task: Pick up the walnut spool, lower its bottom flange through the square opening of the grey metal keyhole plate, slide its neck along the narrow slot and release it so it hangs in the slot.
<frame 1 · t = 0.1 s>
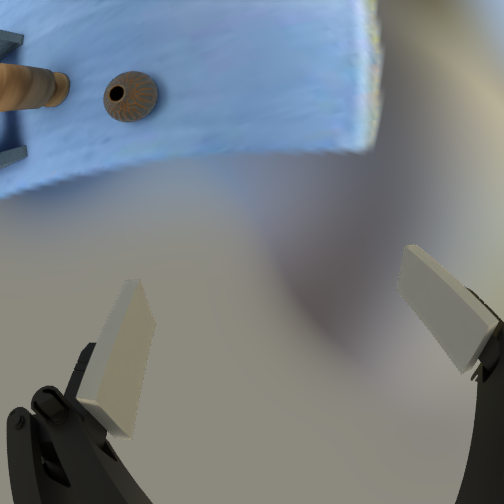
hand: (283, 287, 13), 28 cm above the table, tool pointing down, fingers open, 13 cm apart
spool: (56, 89, 27), on the table
vase: (139, 98, 31), on the table
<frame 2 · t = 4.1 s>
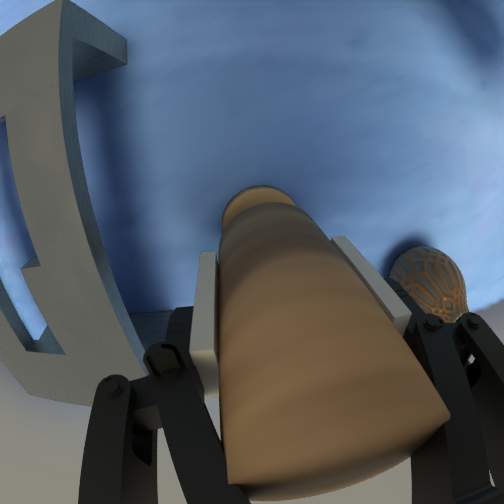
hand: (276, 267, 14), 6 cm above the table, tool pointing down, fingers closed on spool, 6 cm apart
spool: (260, 223, 20), on the table, touching gripper
keyhole plate: (67, 214, 18), on the table
vase: (405, 266, 24), on the table
when the fingers open (12 cm above the table, at t = 11.5 s): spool stays where it is, resting on keyhole plate.
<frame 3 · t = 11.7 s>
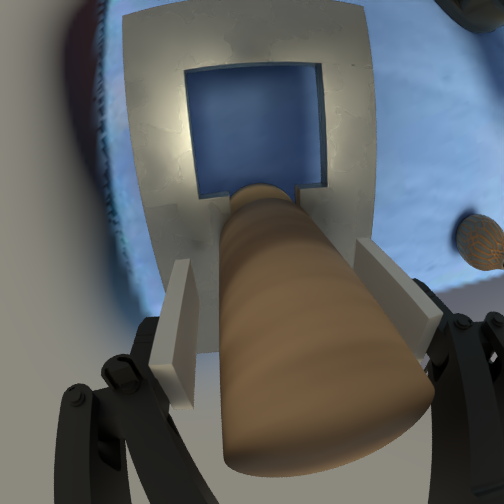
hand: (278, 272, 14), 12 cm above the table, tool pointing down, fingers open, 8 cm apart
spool: (259, 218, 21), point 4 cm above the table, touching keyhole plate
keyhole plate: (250, 166, 23), on the table
vase: (464, 230, 29), on the table
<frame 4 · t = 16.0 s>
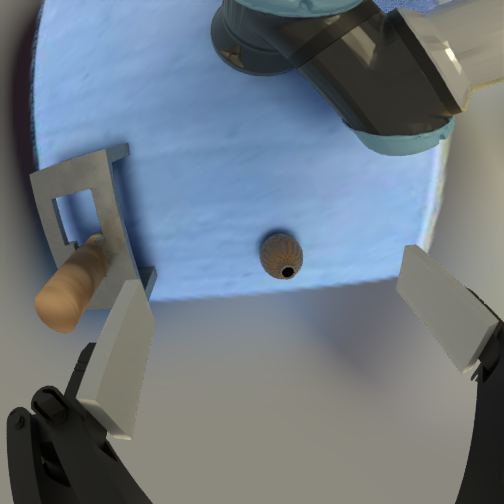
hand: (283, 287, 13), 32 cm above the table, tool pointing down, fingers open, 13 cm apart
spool: (101, 248, 39), point 4 cm above the table, touching keyhole plate
keyhole plate: (105, 220, 42), on the table
vase: (277, 246, 48), on the table
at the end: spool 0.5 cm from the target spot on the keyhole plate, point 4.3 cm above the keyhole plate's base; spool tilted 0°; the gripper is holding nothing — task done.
